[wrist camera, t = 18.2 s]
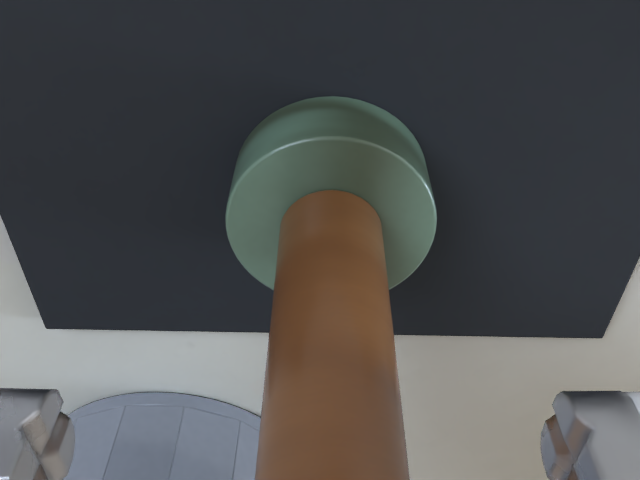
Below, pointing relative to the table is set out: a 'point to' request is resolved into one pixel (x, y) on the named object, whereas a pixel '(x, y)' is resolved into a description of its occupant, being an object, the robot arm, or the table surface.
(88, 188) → the mat
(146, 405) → the tumbler
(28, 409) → the robot arm
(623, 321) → the table surface
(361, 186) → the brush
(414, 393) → the table surface
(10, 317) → the table surface
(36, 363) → the table surface
